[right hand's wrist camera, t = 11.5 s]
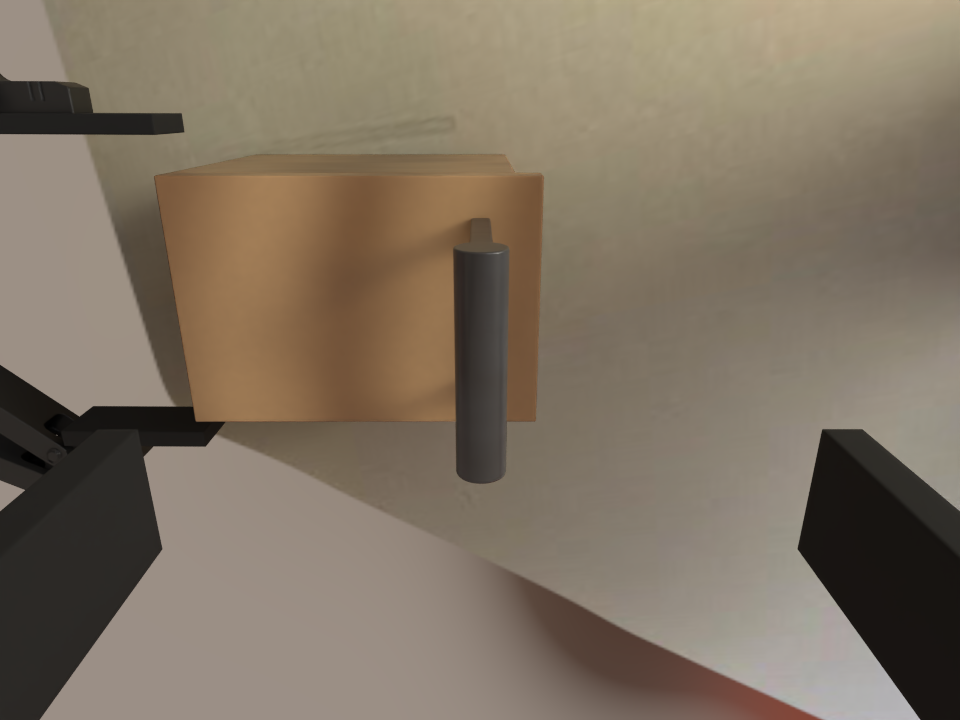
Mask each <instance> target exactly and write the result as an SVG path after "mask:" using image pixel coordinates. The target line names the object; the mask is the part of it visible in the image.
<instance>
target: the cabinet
mask: <svg viewBox="0 0 960 720" xmlns="http://www.w3.org/2000/svg"><path fill="white" fill-rule="evenodd" d="M171 173H515V172H514V170H513V168H512V166H511V165H510V163H509V161H508V159H507V157H506V155H252V156H247V157H242V158H238V159H233V160H228V161H223V162H218V163H214V164H209V165H204V166H199V167H195V168H190V169H185V170H180V171H176V172H171Z"/></svg>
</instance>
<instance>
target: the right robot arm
mask: <svg viewBox="0 0 960 720" xmlns="http://www.w3.org/2000/svg"><path fill="white" fill-rule="evenodd" d="M161 550H162V545H161V540H160V536H159V531H158V526H157V521H156V516H155V511H154V506H153V501H152V497H151V492H150V487H149V482H148V477H147V472H146V467H145V463H144V458H143V453H142V448H141V443H140V438H139V433H138V429H98V430H96V431H95V432H94V433H93V434H92V435H90V436H89V437H88V438H87V439H86V440H85V441H83V442H82V443H81V444H80V445H79V446H77V447H76V448H75V449H74V450H73V451H71V452H70V453H69V454H68V455H67V456H66V457H64V458H63V459H62V460H61V461H60V462H58V463H57V464H56V465H55V466H54V467H52V468H51V469H50V470H49V471H48V472H47V473H45V474H44V475H43V476H42V477H41V478H39V479H38V480H37V481H36V482H35V483H33V484H32V485H31V486H30V487H29V488H27V489H26V490H25V491H24V492H23V493H22V494H20V495H19V496H18V497H17V498H16V499H14V500H13V501H12V502H11V503H10V504H8V505H7V506H6V507H5V508H4V509H3V510H1V511H0V720H40V718H41V717H42V716H43V714H44V713H45V711H46V710H47V709H48V707H49V706H50V704H51V703H52V702H53V700H54V699H55V697H56V696H57V695H58V693H59V692H60V691H61V689H62V688H63V686H64V685H65V684H66V682H67V681H68V679H69V678H70V677H71V675H72V674H73V672H74V671H75V670H76V668H77V667H78V666H79V664H80V663H81V661H82V660H83V659H84V657H85V656H86V654H87V653H88V652H89V650H90V649H91V647H92V646H93V645H94V643H95V642H96V641H97V639H98V638H99V636H100V635H101V634H102V632H103V631H104V629H105V628H106V627H107V625H108V624H109V622H110V621H111V620H112V618H113V617H114V616H115V614H116V613H117V611H118V610H119V609H120V607H121V606H122V604H123V603H124V602H125V600H126V599H127V597H128V596H129V595H130V593H131V592H132V591H133V589H134V588H135V586H136V585H137V584H138V582H139V581H140V579H141V578H142V577H143V575H144V574H145V572H146V571H147V570H148V568H149V567H150V566H151V564H152V563H153V561H154V560H155V559H156V557H157V556H158V554H159V553H160V552H161ZM798 550H799V552H800V553H801V554H802V556H803V557H804V559H805V560H806V561H807V563H808V564H809V566H810V567H811V568H812V570H813V571H814V572H815V574H816V575H817V577H818V578H819V579H820V581H821V582H822V584H823V585H824V586H825V588H826V589H827V591H828V592H829V593H830V595H831V596H832V597H833V599H834V600H835V602H836V603H837V604H838V606H839V607H840V609H841V610H842V611H843V613H844V614H845V616H846V617H847V618H848V620H849V621H850V622H851V624H852V625H853V627H854V628H855V629H856V631H857V632H858V634H859V635H860V636H861V638H862V639H863V641H864V642H865V643H866V645H867V646H868V647H869V649H870V650H871V652H872V653H873V654H874V656H875V657H876V659H877V660H878V661H879V663H880V664H881V666H882V667H883V668H884V670H885V671H886V672H887V674H888V675H889V677H890V678H891V679H892V681H893V682H894V684H895V685H896V686H897V688H898V689H899V691H900V692H901V693H902V695H903V696H904V697H905V699H906V700H907V702H908V703H909V704H910V706H911V707H912V709H913V710H914V711H915V713H916V714H917V716H918V717H919V718H920V720H960V511H959V510H957V509H956V508H955V507H954V506H953V505H952V504H950V503H949V502H948V501H947V500H946V499H944V498H943V497H942V496H941V495H940V494H938V493H937V492H936V491H935V490H934V489H933V488H931V487H930V486H929V485H928V484H927V483H925V482H924V481H923V480H922V479H921V478H919V477H918V476H917V475H916V474H915V473H913V472H912V471H911V470H910V469H909V468H908V467H906V466H905V465H904V464H903V463H902V462H900V461H899V460H898V459H897V458H896V457H894V456H893V455H892V454H891V453H890V452H889V451H887V450H886V449H885V448H884V447H883V446H881V445H880V444H879V443H878V442H877V441H875V440H874V439H873V438H872V437H871V436H870V435H868V434H867V433H866V432H865V431H864V430H862V429H822V433H821V438H820V443H819V448H818V453H817V458H816V462H815V467H814V472H813V477H812V482H811V487H810V492H809V496H808V501H807V506H806V511H805V516H804V521H803V526H802V530H801V535H800V540H799V545H798Z"/></svg>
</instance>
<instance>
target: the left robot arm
mask: <svg viewBox="0 0 960 720" xmlns="http://www.w3.org/2000/svg"><path fill="white" fill-rule="evenodd" d="M182 132H184V126H183V120H182V113H93V109H92V104H91V99H90V93H89V88H87V87H84V86H82V85H80V84H77V83H71V82H55V81H10V80H7V79H6V78H4V77H3V76H2V75H1V74H0V134H102V135H158V134H170V133H182ZM224 423H225V422H197V421H196V420H195V414H194V409H193V407H138V406H133V407H132V406H93V407H92V408H90V409H89V410H88V411H86V412H85V413H84V414H83V415H81V416H80V417H79V416H78V415H76V414H74V413H73V412H71V411H70V410H68V409H67V408H65V407H64V406H62V405H61V404H59V403H58V402H56V401H55V400H53V399H52V398H50V397H48V396H47V395H45V394H44V393H42V392H41V391H39V390H38V389H36V388H35V387H33V386H32V385H30V384H29V383H27V382H25V381H24V380H22V379H21V378H19V377H18V376H16V375H15V374H13V373H12V372H10V371H9V370H7V369H6V368H4V367H2V366H1V365H0V480H1V481H4V482H6V483H9V484H11V485H14V486H17V487H19V488H22V489H24V490H26V489H27V488H29V487H30V486H31V485H32V484H33V483H35V482H36V481H37V480H38V479H39V478H41V477H42V476H43V475H44V474H45V473H47V472H48V471H49V470H50V469H51V468H52V467H54V466H55V465H56V464H57V463H58V462H60V461H61V460H62V459H63V458H64V457H66V456H67V455H68V454H69V453H70V452H71V451H73V450H74V449H75V448H76V447H77V446H79V445H80V444H81V443H82V442H83V441H85V440H86V439H87V438H88V437H89V436H90V435H92V434H93V433H94V432H95V431H96V430H98V429H138V433H139V438H140V443H141V448H142V453H143V457H144V456H145V455H146V454H147V453H148V452H149V451H150V449H151V448H152V447H153V446H206V445H207V444H208V443H209V442H210V440H211V439H212V438H213V437H214V436H215V434H216V433H217V432H218V431H219V429H220V428H221V427H222V426H223V424H224ZM57 435H58V436H57Z"/></svg>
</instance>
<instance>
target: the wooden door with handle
mask: <svg viewBox="0 0 960 720" xmlns="http://www.w3.org/2000/svg"><path fill="white" fill-rule="evenodd" d="M154 179H155V185H156V191H157V197H158V203H159V209H160V215H161V221H162V226H163V232H164V238H165V244H166V250H167V256H168V262H169V268H170V273H171V279H172V285H173V291H174V297H175V303H176V309H177V315H178V320H179V326H180V332H181V338H182V344H183V350H184V356H185V362H186V367H187V373H188V379H189V385H190V391H191V397H192V403H193V409H194V414H195V420H196V421H197V422H288V421H456V472H457V474H458V476H459V477H460V478H462V479H463V480H465V481H468V482H471V483H478V484H484V483H491V482H495V481H497V480H499V479H501V478H502V477H503V476H504V474H505V472H506V435H507V421H535V420H536V398H537V368H538V338H539V308H540V278H541V248H542V218H543V188H544V176H543V175H542V174H541V173H166V174H161V175H156V176H154Z"/></svg>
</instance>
